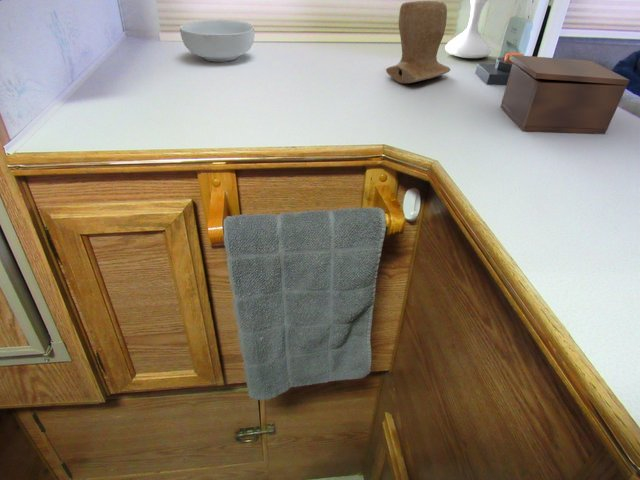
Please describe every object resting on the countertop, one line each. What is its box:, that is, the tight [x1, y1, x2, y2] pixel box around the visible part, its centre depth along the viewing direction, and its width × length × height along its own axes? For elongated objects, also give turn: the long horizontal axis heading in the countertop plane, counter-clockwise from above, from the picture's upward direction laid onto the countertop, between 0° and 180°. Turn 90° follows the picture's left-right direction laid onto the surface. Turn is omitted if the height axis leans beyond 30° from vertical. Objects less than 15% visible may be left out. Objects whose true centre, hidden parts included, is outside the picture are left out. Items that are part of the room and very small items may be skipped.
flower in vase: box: [444, 0, 492, 59], centre depth 104 cm, size 13×11×25 cm
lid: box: [509, 55, 630, 86], centre depth 69 cm, size 14×12×1 cm
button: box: [504, 51, 525, 63], centre depth 91 cm, size 4×4×2 cm
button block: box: [474, 56, 513, 86], centre depth 93 cm, size 12×9×4 cm
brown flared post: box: [385, 0, 451, 84], centre depth 89 cm, size 15×12×15 cm
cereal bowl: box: [179, 19, 255, 63], centre depth 100 cm, size 17×17×7 cm
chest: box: [499, 63, 628, 135], centre depth 72 cm, size 14×12×8 cm
